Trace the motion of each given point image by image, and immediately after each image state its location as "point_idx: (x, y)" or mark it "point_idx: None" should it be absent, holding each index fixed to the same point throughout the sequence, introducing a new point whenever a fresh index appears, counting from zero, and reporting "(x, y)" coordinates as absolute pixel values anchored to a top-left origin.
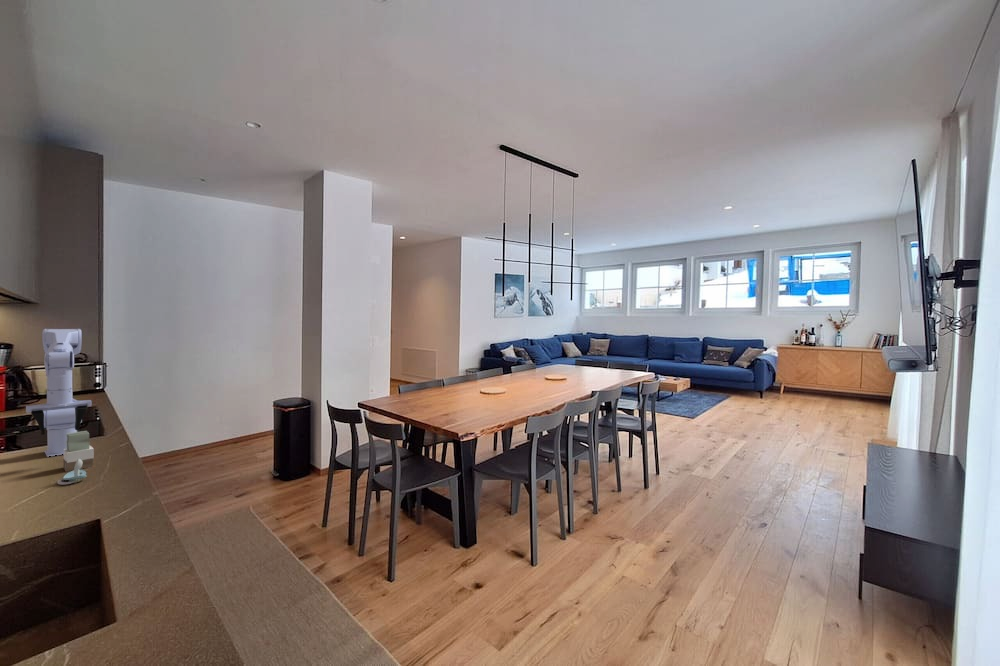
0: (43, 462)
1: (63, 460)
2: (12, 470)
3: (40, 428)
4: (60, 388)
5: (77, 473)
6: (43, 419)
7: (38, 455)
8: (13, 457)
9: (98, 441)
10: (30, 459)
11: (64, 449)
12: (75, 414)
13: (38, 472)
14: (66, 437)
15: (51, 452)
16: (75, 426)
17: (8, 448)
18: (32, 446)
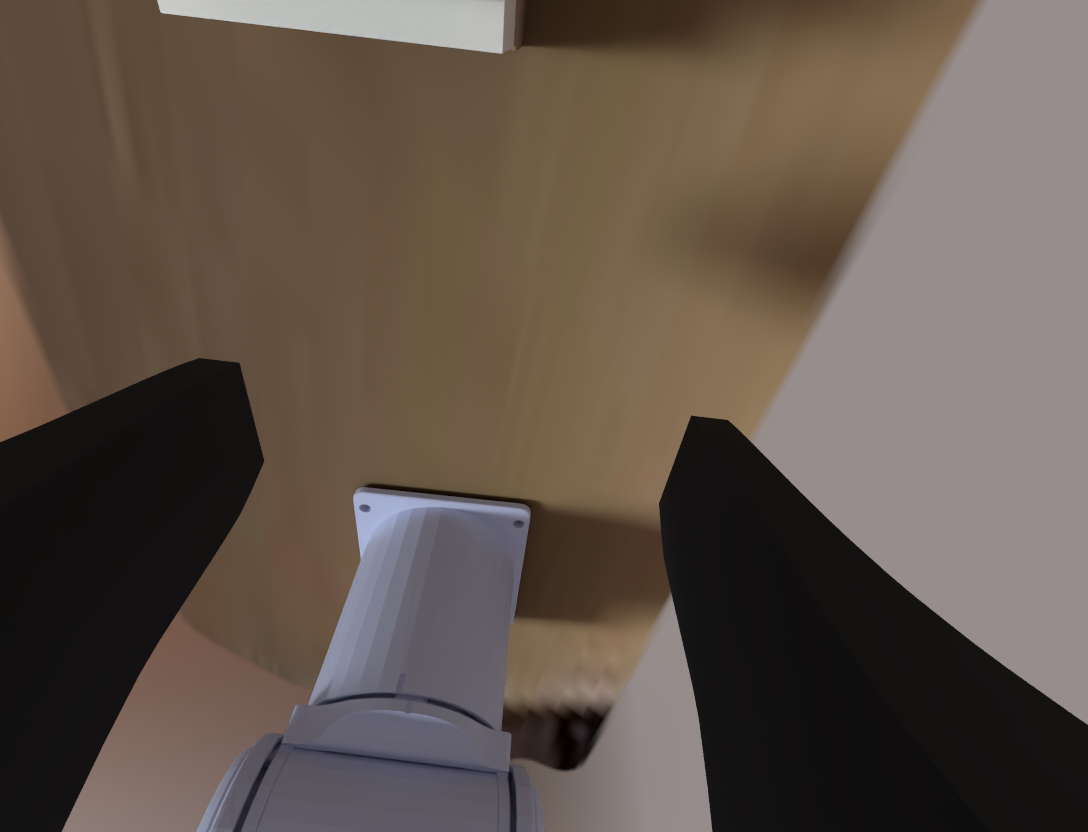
0: (580, 401)
1: (517, 41)
2: (782, 340)
3: (803, 500)
4: None
5: None
6: (900, 704)
7: (550, 577)
8: (640, 619)
9: (265, 632)
10: (604, 530)
11: (494, 26)
12: (63, 789)
13: (726, 47)
14: (400, 609)
15: (501, 543)
16: (220, 462)
17: (596, 741)
18: (525, 719)
